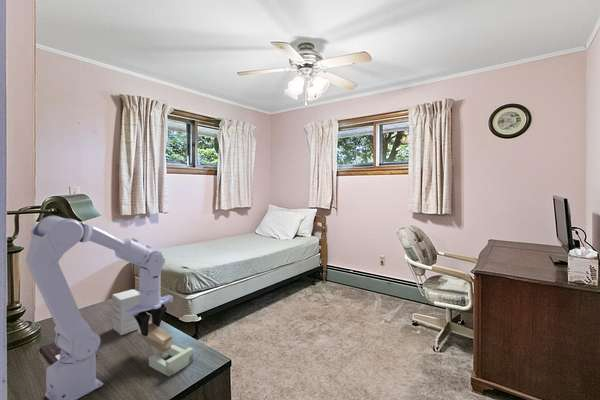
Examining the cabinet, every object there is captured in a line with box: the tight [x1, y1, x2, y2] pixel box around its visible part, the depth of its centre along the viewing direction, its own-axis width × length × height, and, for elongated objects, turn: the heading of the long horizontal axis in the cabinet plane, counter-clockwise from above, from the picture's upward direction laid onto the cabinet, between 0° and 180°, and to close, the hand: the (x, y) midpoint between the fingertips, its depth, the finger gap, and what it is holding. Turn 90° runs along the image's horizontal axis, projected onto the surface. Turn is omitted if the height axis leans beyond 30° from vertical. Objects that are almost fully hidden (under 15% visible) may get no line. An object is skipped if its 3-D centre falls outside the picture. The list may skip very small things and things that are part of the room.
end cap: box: [148, 344, 194, 377], centre depth 86 cm, size 8×9×4 cm
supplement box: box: [112, 289, 140, 336], centre depth 105 cm, size 7×7×13 cm
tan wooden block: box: [136, 320, 173, 354], centre depth 90 cm, size 3×12×4 cm, turn 60°
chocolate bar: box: [39, 342, 98, 365], centre depth 90 cm, size 9×1×18 cm
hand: (150, 332), depth 90 cm, fingers closed on tan wooden block, 3 cm apart
